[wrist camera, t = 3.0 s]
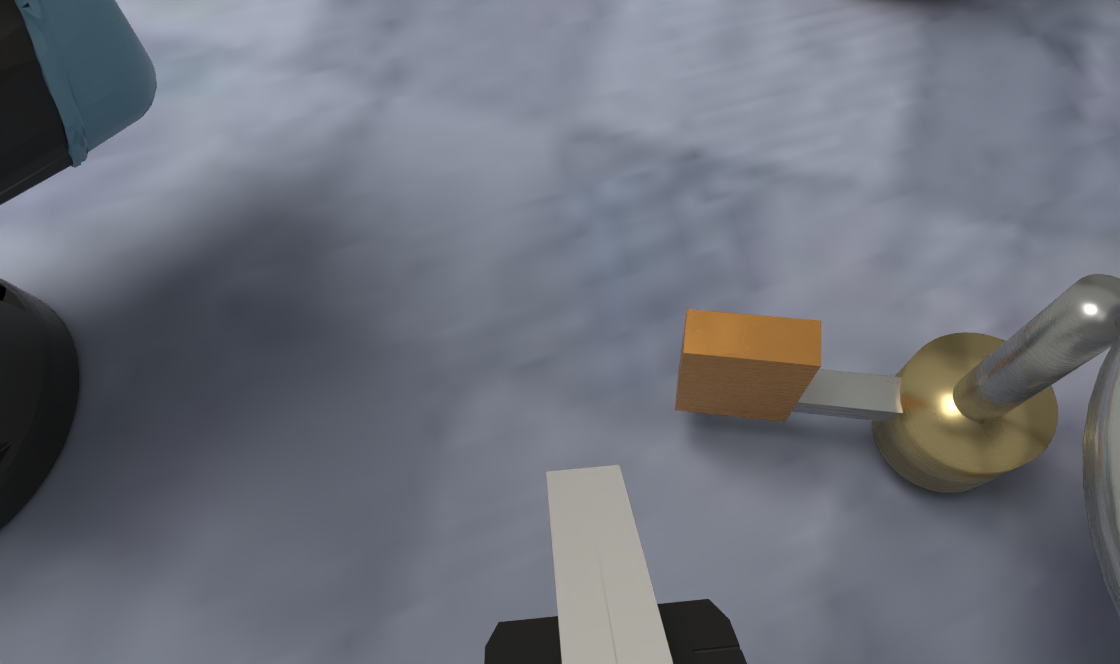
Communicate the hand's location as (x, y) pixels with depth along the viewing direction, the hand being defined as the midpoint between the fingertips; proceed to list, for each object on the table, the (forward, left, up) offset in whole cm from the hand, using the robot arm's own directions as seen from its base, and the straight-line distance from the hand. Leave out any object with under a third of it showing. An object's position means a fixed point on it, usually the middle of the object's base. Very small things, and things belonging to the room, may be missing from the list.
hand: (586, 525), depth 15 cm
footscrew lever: (-4, +11, -16) cm, 20 cm away
